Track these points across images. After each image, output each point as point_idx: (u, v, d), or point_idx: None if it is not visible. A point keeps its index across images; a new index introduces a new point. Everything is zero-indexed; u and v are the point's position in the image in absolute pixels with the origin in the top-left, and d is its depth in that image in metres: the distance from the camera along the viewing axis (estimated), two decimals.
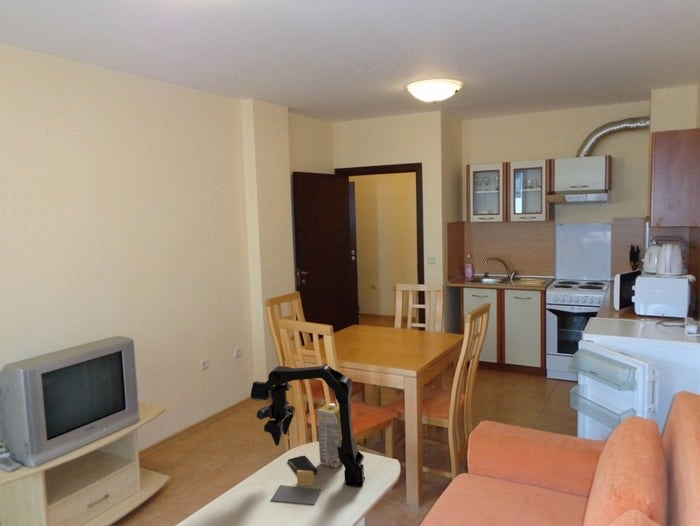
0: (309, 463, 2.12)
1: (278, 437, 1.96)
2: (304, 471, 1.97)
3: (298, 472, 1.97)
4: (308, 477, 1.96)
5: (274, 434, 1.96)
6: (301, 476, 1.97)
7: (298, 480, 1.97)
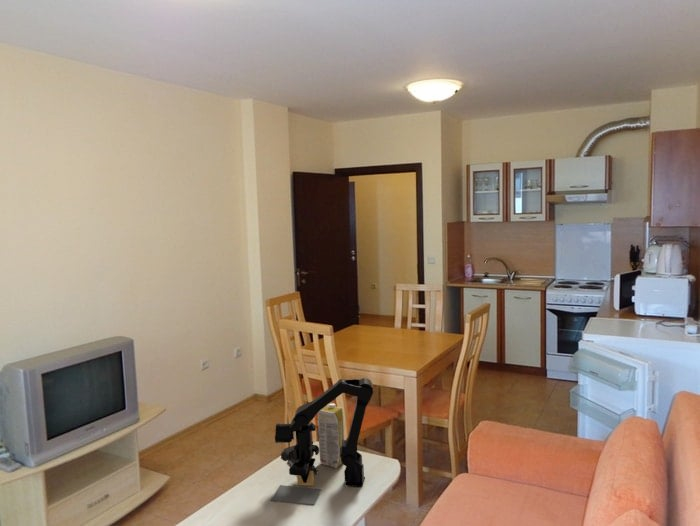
0: None
1: (306, 474, 1.95)
2: None
3: None
4: (308, 477, 1.96)
5: None
6: None
7: (298, 480, 1.97)
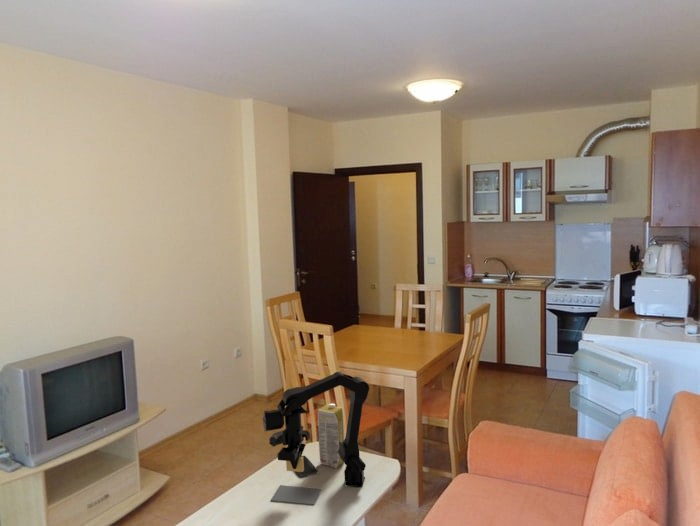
0: (309, 463, 2.12)
1: (296, 460, 1.86)
2: None
3: None
4: (298, 463, 1.88)
5: None
6: (290, 462, 1.88)
7: (287, 466, 1.89)
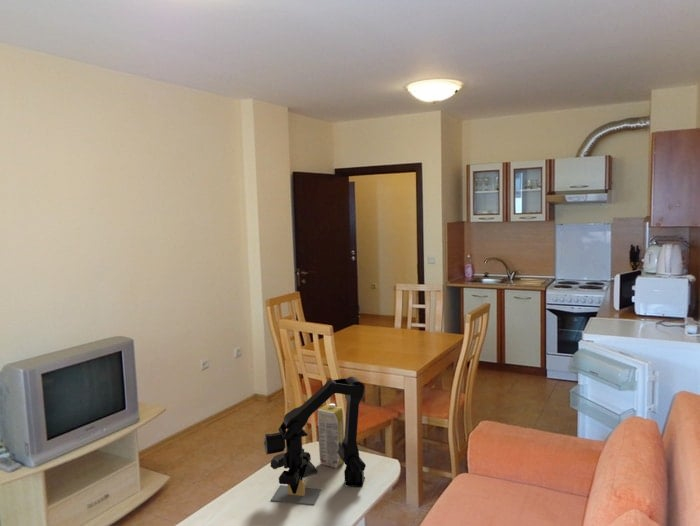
0: (309, 463, 2.12)
1: (296, 485, 1.86)
2: None
3: None
4: (299, 487, 1.89)
5: None
6: None
7: (288, 490, 1.90)
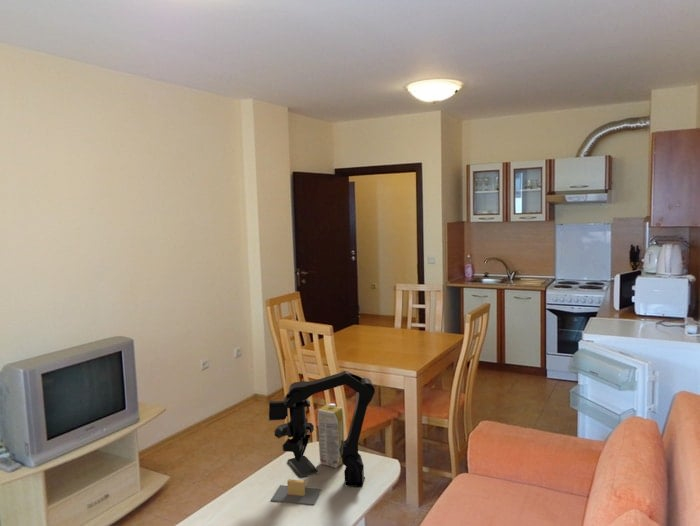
0: (309, 463, 2.12)
1: (299, 453, 1.90)
2: (295, 480, 1.90)
3: (288, 482, 1.90)
4: (299, 487, 1.89)
5: None
6: (292, 486, 1.89)
7: (288, 490, 1.90)
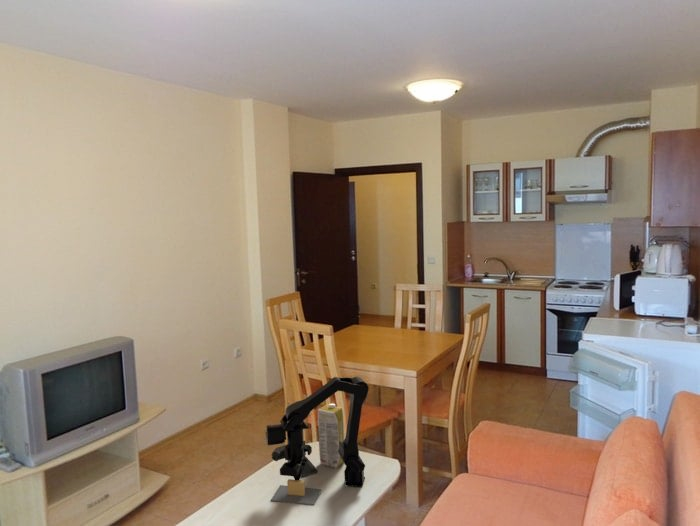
0: (309, 463, 2.12)
1: (298, 474, 1.89)
2: (295, 480, 1.90)
3: (288, 482, 1.89)
4: (299, 487, 1.89)
5: None
6: (292, 486, 1.89)
7: (288, 490, 1.90)
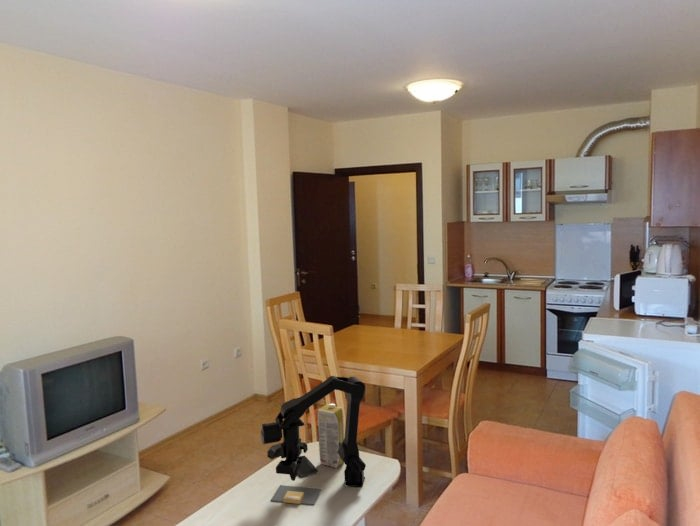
0: (309, 463, 2.12)
1: (295, 472, 1.87)
2: (290, 500, 1.85)
3: (285, 501, 1.85)
4: None
5: None
6: None
7: None
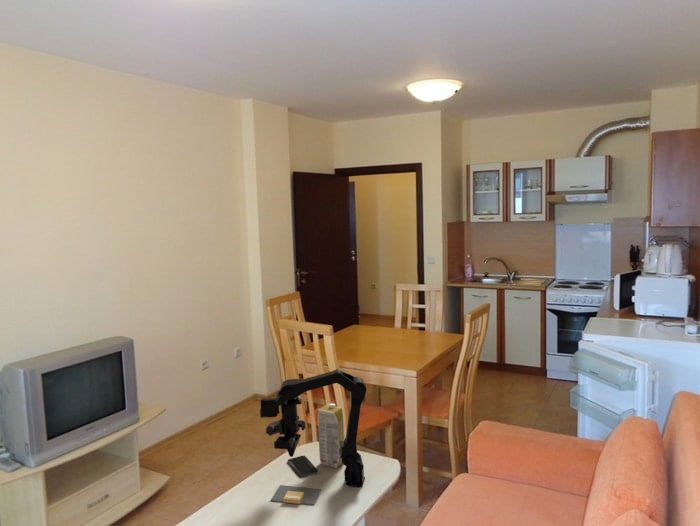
0: (309, 463, 2.12)
1: (292, 448, 1.92)
2: (290, 500, 1.85)
3: (285, 501, 1.85)
4: None
5: None
6: None
7: None
